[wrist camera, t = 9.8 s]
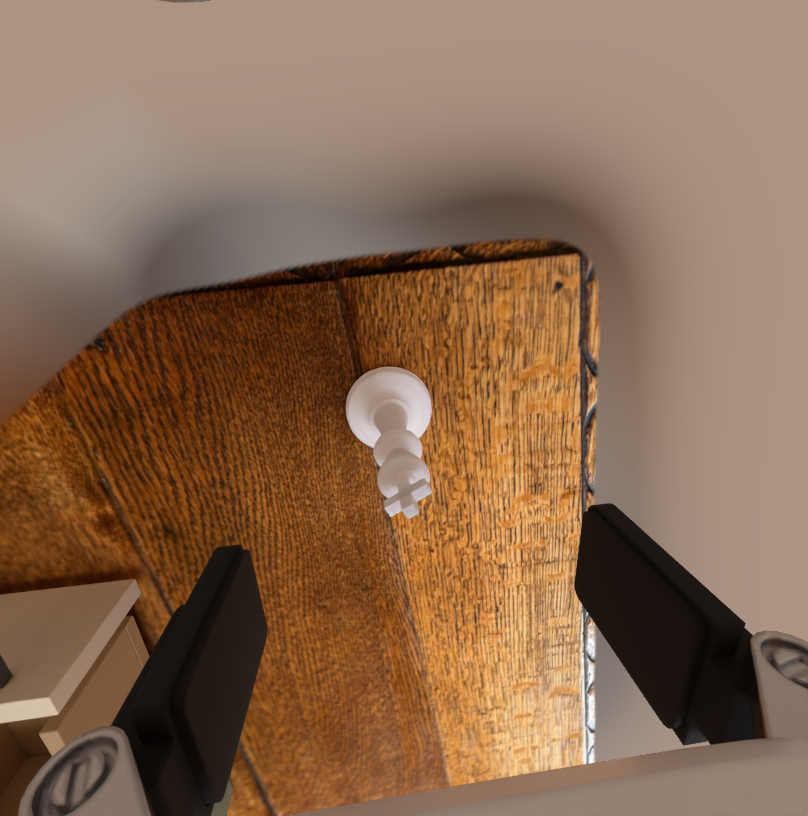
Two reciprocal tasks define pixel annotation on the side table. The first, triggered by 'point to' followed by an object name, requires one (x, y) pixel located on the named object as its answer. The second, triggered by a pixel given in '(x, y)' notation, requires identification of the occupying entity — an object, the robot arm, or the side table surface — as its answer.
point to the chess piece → (393, 433)
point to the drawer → (61, 672)
